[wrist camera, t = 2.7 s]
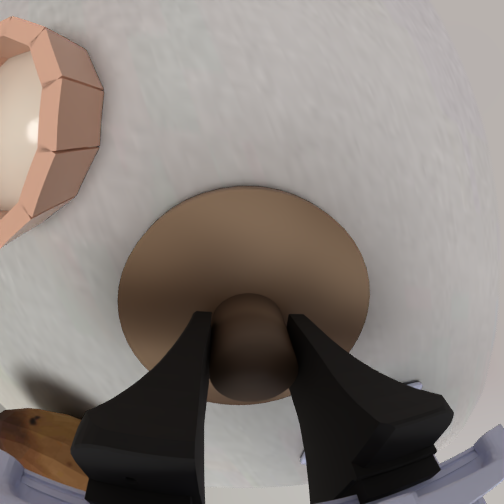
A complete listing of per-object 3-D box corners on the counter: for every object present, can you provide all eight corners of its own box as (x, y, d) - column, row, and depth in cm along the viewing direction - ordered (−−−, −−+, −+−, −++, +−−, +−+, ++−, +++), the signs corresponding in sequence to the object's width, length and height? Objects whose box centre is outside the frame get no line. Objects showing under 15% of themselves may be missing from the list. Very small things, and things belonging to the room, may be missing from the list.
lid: (330, 387, 15) (350, 439, 12) (140, 385, 14) (126, 441, 10) (383, 201, 11) (441, 229, 8) (116, 180, 10) (68, 202, 6)
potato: (44, 350, 13) (-9, 448, 6) (180, 456, 18) (178, 540, 11) (7, 379, 14) (-32, 451, 7) (123, 467, 19) (114, 536, 12)
